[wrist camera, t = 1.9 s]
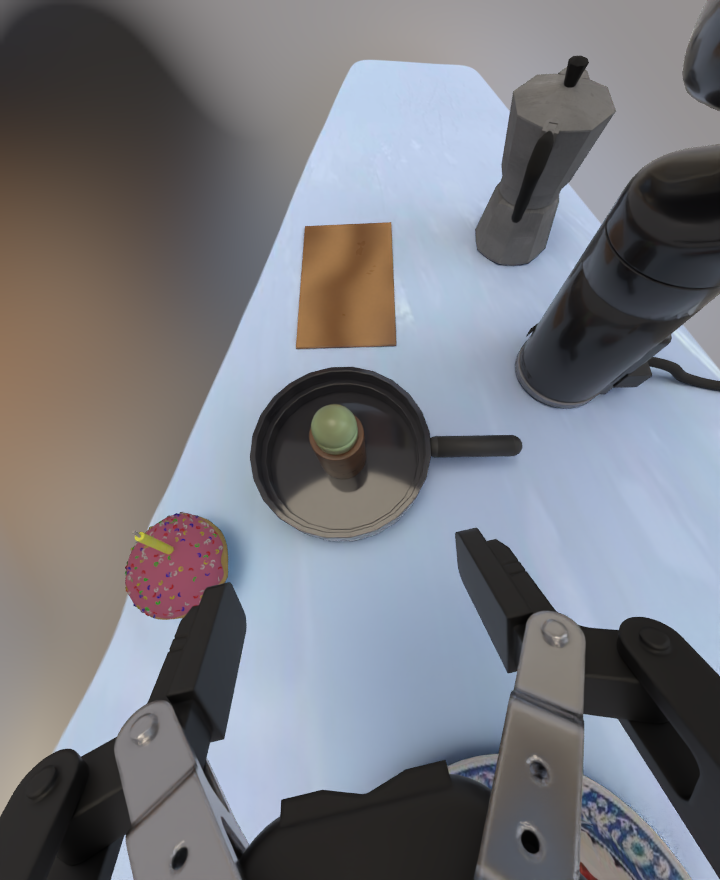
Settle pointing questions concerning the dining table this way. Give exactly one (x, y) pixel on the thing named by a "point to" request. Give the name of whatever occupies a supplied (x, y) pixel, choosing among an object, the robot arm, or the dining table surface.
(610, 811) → the ceramic plate
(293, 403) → the pan
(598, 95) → the coffeepot
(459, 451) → the pan handle
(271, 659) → the dining table surface
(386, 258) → the placemat
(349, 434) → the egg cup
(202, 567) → the cupcake
